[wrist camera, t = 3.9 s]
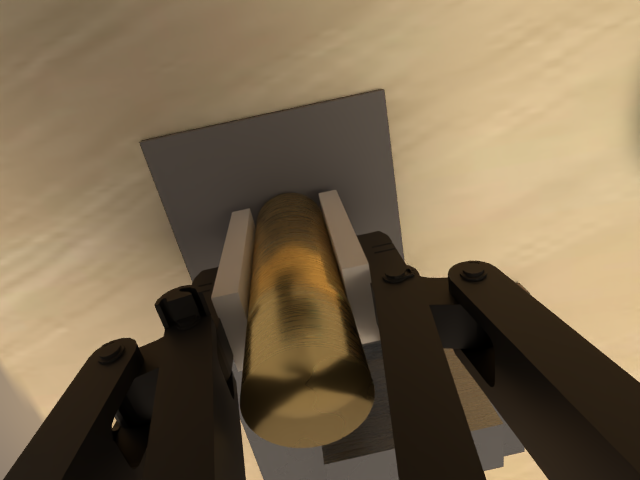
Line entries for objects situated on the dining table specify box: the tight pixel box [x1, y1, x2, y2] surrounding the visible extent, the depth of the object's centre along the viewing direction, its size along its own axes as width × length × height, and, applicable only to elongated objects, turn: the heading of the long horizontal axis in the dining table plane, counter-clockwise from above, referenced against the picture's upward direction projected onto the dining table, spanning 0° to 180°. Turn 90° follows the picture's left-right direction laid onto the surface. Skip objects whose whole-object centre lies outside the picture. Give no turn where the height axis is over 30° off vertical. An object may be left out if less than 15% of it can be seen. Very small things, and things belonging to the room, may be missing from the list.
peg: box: [240, 193, 375, 448], centre depth 14 cm, size 3×3×10 cm
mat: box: [139, 89, 404, 282], centre depth 19 cm, size 10×10×1 cm
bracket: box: [232, 283, 530, 480], centre depth 21 cm, size 12×16×7 cm
